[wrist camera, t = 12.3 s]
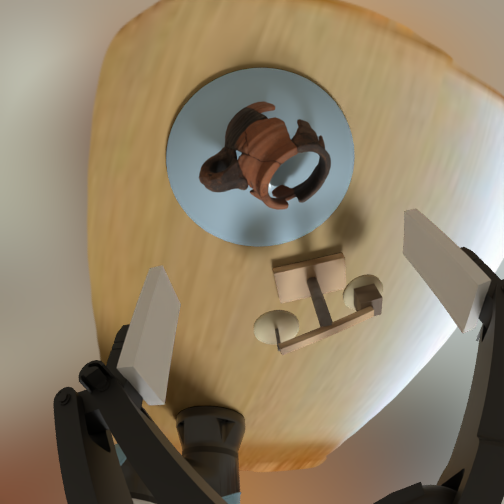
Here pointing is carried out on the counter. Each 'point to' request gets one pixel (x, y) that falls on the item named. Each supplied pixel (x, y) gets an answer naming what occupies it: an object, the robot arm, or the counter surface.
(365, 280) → the balance
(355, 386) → the counter surface
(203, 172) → the pottery mug
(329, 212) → the plate
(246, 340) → the counter surface
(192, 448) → the robot arm
